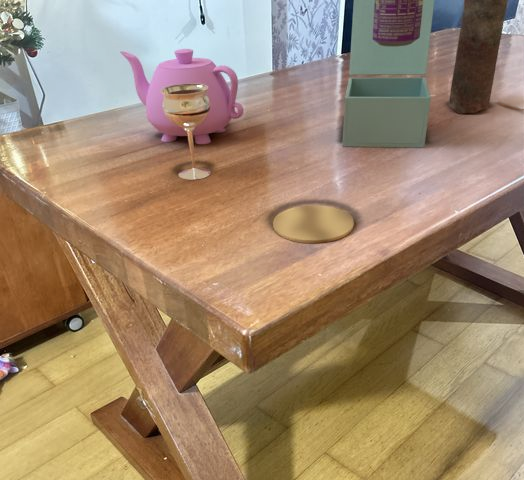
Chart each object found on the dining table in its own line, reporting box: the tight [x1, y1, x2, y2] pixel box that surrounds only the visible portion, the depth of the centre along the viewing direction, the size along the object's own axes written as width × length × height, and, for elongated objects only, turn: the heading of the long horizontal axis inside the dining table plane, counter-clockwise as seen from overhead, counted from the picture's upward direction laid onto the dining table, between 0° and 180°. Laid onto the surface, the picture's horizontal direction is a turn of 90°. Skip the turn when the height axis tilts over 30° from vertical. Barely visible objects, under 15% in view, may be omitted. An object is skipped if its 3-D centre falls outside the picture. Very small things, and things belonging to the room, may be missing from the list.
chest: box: [342, 76, 432, 149], centre depth 92 cm, size 14×13×8 cm
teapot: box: [119, 48, 244, 145], centre depth 94 cm, size 22×16×14 cm
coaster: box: [272, 204, 355, 244], centre depth 67 cm, size 10×10×1 cm
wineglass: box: [161, 83, 212, 181], centre depth 79 cm, size 7×7×12 cm
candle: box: [448, 0, 509, 115], centre depth 98 cm, size 8×7×20 cm
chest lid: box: [348, 0, 435, 76], centre depth 94 cm, size 15×13×4 cm
